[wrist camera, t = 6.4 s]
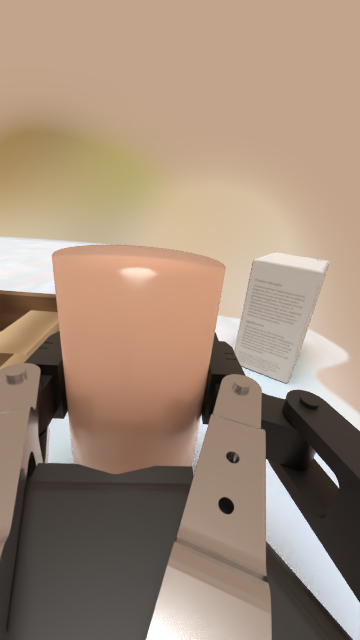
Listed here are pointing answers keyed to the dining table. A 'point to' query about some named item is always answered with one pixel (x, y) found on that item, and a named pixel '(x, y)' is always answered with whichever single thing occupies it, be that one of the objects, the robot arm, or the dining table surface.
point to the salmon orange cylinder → (135, 351)
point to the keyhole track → (25, 324)
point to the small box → (278, 312)
